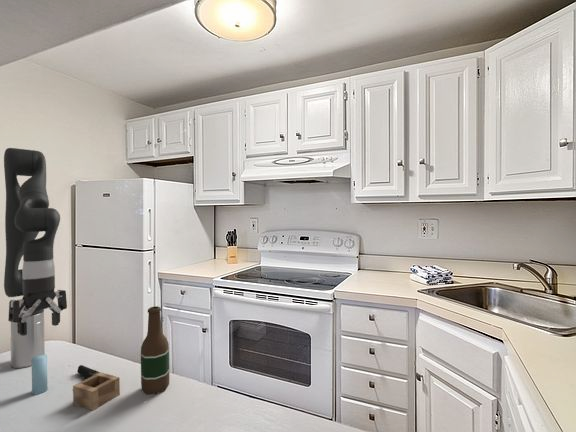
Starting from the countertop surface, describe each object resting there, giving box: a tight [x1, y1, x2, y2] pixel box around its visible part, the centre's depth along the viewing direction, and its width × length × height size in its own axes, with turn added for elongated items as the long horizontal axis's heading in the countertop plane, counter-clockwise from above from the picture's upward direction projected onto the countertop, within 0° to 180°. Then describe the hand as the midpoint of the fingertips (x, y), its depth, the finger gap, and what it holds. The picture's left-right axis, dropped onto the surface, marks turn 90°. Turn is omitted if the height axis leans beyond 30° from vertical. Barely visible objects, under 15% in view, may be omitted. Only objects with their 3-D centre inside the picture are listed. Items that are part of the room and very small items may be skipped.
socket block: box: [72, 371, 121, 411], centre depth 89 cm, size 8×8×5 cm
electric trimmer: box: [76, 364, 101, 380], centre depth 100 cm, size 4×16×3 cm, turn 58°
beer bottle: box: [140, 306, 170, 396], centre depth 94 cm, size 8×8×24 cm
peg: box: [31, 354, 49, 395], centre depth 94 cm, size 4×4×10 cm
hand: (39, 329), depth 94 cm, fingers open, 8 cm apart
